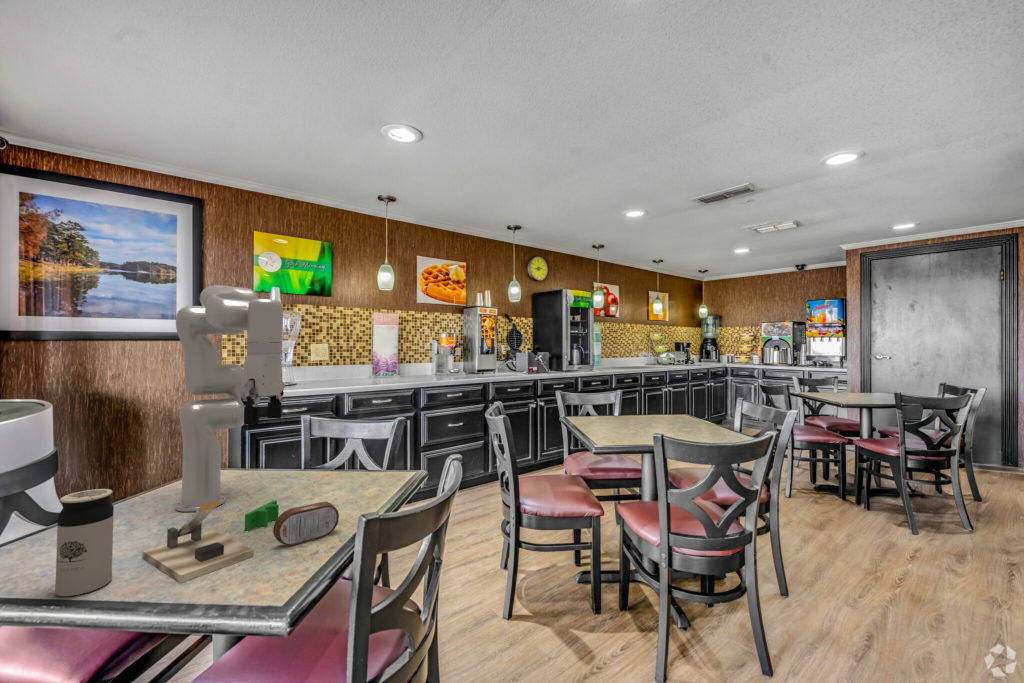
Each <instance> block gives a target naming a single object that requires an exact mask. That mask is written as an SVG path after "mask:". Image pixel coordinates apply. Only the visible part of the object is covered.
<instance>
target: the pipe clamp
mask: <svg viewBox="0 0 1024 683" xmlns="http://www.w3.org/2000/svg"><path fill="white" fill-rule="evenodd" d="M279 508H280V504H278V502H277V500H271V501H269V502H268V503H266V504H263V505H261V506H259V507H257V508H256V509H253V510H251V511H249V512H247V513H245V514H244V532H245V531H248V533H249V532H251V531H252V529H253V530H255V529H256V528H260V527H265V528H264V529H266V528H268V522H269V523H271V522H272V521H275V522H276V520H277V518H278V517H279V510H280V509H279Z"/></svg>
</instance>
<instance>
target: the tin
mask: <svg viewBox="0 0 1024 683" xmlns="http://www.w3.org/2000/svg"><path fill="white" fill-rule="evenodd" d="M339 514H340V513H339V510H338V509H337V508H336V507H335V506H334V504H333V503H331V502H328V501H321V502H316V503H311V504H307V505H302V506H301V505H300V506H297V507H293V508H289V509H287V510H284V512H282V513H281V514H280V515H278V518H277V520H276V521H275V522H274V525H273V527H272V529H273V530H272V532H273V537H274V538H275V540H276V541H278V542H279V543H280V544H281V545H284V546H286V547H287V546H289V547H292V546H295V545H300V544H303V543H307V542H311V541H314V539H315V540H318V539H321V538H325V537H327V536H329V535H330V534H331V533H333V532H334V531H335V529H336V528H337V526H338V523H339V519H340V515H339Z"/></svg>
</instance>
